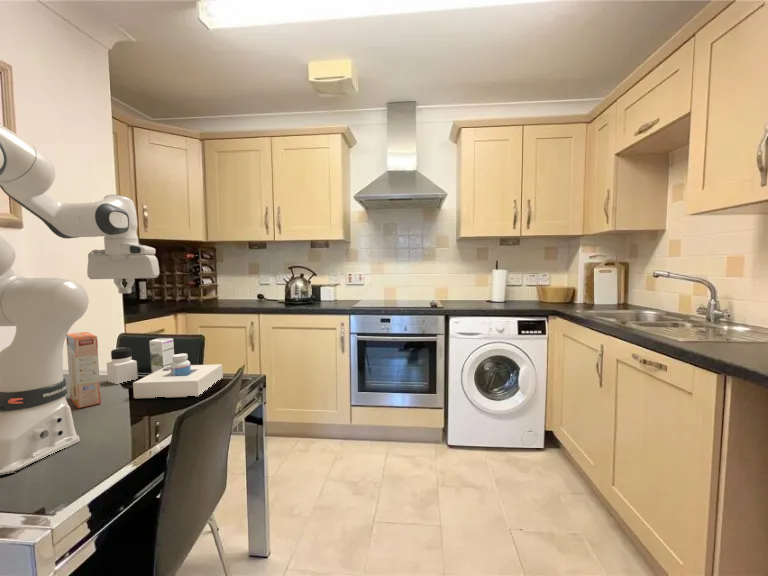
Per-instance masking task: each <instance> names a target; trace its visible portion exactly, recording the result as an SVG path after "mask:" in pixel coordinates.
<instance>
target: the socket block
mask: <svg viewBox="0 0 768 576" xmlns="http://www.w3.org/2000/svg"><path fill="white" fill-rule="evenodd" d="M190 366H191V374H190V375H188V376H171V370H170V366H166V367H164V368H162V369H160V370H158V371H156V372H154V373H152V372H151V373H150V374H148V375H146V376H144V377H142V378H140V379H138V380H135V381H133V382H132V389H133V390H132V391H133V399H134V398H135V399H158V398H157V397H165V398H188V397H187V396H195V397H200V396H201V395H202V394H204V393H205V392H206V391H207V390H209V389H210V388H211V387H213V386H214V385H215V384H217V383H218V382H219V381H220V380H222V379H223V378H224V374H223V373H224V371H223V364H222V363H221V364H216V363H215V364H190ZM221 378H222V379H221ZM218 380H219V381H218ZM217 381H218V382H217ZM216 382H217V383H216ZM214 383H215V384H214ZM213 384H214V385H213ZM212 385H213V386H212ZM209 387H210V388H209ZM208 388H209V389H208ZM205 390H206V391H205ZM204 391H205V392H204ZM203 392H204V393H203ZM200 394H201V395H200ZM199 395H200V396H199ZM155 397H156V398H155Z"/></svg>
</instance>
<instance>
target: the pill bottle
mask: <svg viewBox="0 0 768 576" xmlns="http://www.w3.org/2000/svg"><path fill="white" fill-rule="evenodd" d="M188 358H189V356H188V353H186V352H185V353H183V352H182V353H178V354H174V355H173V356H172V360H173V362H172V363H171V365H170V370H171V376H188V375H190V374H191V366H190V365H191V362H190V360H188Z"/></svg>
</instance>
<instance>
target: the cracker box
mask: <svg viewBox="0 0 768 576" xmlns="http://www.w3.org/2000/svg"><path fill="white" fill-rule="evenodd" d="M65 340H66V350H67V351H66V353H67V354H66V355H67V365H68V366H67V368H68V369H67V370H68V386H69V399H70V400H71V402H72V403H73V404H74V405H75V406H76V408H77V409H83V408H87V407H92V406H97V405H101V384H100V366H99V365H100V364H99V346H98V336H96V335H94V334H92V333H91V332H88V331H83V332H82V331H81V332H74V333H67V335H66V338H65Z"/></svg>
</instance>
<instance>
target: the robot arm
mask: <svg viewBox="0 0 768 576" xmlns="http://www.w3.org/2000/svg"><path fill="white" fill-rule="evenodd" d="M55 179H56V170H55V167H54V163H53V162H52V161H51V159H49V158H48V156H46V154H45V153H43V152H42V151H41V150H39V149H38V148H37V147H35V146H34V145H32V144H31V143H30V142H28V141H27V140H26V139H24V138H23V137H21V136H20V135H18V134H17V133H15V132H14V131H12V130H10V129H9V128H7V127H6V126H4V125H1V124H0V190H1V191H2V192H3V193H4V194H6V195H7V197H8V198H10V199H12V200H13V201H14V202H16V203H17V204H18V205H19V206H21V207H23V208H24V209H25V210H27V211H28V212H29V213H31V214H33V215H34V216H35V217H36V218H38V219H39V220H40V221H42V222H43V223H44V225H46V226H47V228H49V230H50V231H51V232H52V233H53V234H55V235H56V236H57V237H59V238H62V239H76V238H93V237H94V238H96V237H103V243H104V244H103V245H104V249H93V250H91V251H90V252H89V253H88V254H87V261H88V262H87V270H86V272H87V276H86V277H87V278H89V280H113V284H114V285H115V286H116V288H117V290H118V294H131V293H132V287H133V286H134V284H135V281H136V280H135V279H155V278H156V279H157V278H158V277H159V276H160V266H159V261H158V257H156V248H154V247H152V246H148V245H144V244H141V243H140V241H139V237H138V234H137V229H138V216H137V210H136V207H135V203H134V201H133V200H132V199H131V198H129V197H127V196H124V195H120V194H108V195H105V196H104V197H103V199H102V200H98V201H95V202H83V203H82V202H79V203H77V202H76V203H73V202H72V203H70V202H61V201H57V200H55V199H54V198H52V197H51V195H49V194H48V193H46V192H47V191H48V190H49V189H50V188H51V187H52V185H53V184H54V181H55ZM15 251H16V250H15V249H14V248H13V247H12V245H10V244H9V242H8V241H7V240H6V239H5V238H4V237H3V236H2V235H1V234H0V327H15V333H14V337H13V339H12V341H11V343H10V344H9V345H8V346H6V347H5V348H3V349H2V350H0V473H6V472H10V471H14V470H16V469H19V468H21V467H23V466H26V465H28V464H30V463H32V462H34V461H37V460H39V459H42V458H44V457H46V456H48V455H50V456H52V455H54V454H56V453H55V452H57V451H59V450H61V451H63V450H65V449H67V448H69V447H71V446H73V445H75V444H77V443H79V442H80V441H81V438H80V436H79V435H78V434H77V431H76V429H75V425H74V423H75V422H74V420H73V415H72V409H71V406H70V405H69V403H68V401H67V399H66V395H67V393H68V390H67V389H68V384H67V380H66V378H64V366H63V365H64V363H63V351H64V350H63V349H64V343H65V340H66V335H67V334H69V331H70V330H71V328H72V326H73V325H74V324H75V323H76V322H77V321H78V320H79V319H82V317H83V316H84V315H85V314H86V312H87V309H88V306H89V302H90V301H89V294H88V292H87V291H86V289H85V288H84V287H83V285H81V284H80V283H79V282H77V281H74V280H69V279H63V278H57V277H23V276H21V275H19V274H17V273H16V272H15V271H14V269H12V266H13V264H14V262H15V259H16V252H15ZM123 279H124V280H125V282H126V283H127V284H126V286H125V287H124V285H123V284H122V283H123V281H124V280H123ZM64 448H65V449H64ZM62 449H63V450H62ZM59 452H60V451H59ZM53 453H54V454H53ZM57 453H58V452H57ZM51 454H52V455H51ZM48 457H49V456H48ZM46 458H47V457H46ZM44 459H45V458H44ZM42 460H43V459H42Z"/></svg>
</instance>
